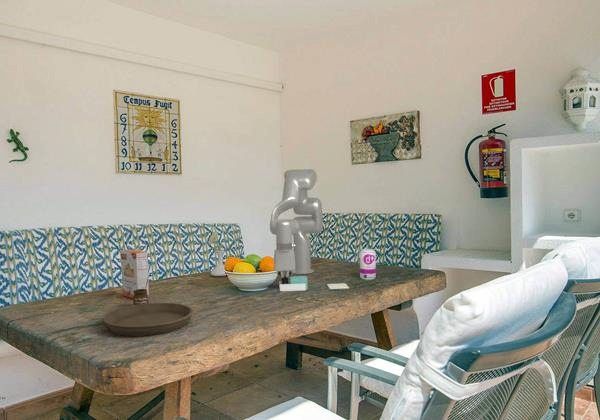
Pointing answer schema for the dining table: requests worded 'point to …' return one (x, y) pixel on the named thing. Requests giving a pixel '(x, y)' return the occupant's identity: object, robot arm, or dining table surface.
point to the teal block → (299, 280)
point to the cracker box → (134, 271)
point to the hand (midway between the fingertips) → (284, 285)
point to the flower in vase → (220, 267)
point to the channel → (291, 286)
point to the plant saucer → (147, 318)
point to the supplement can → (367, 264)
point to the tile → (337, 286)
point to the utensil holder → (140, 295)
